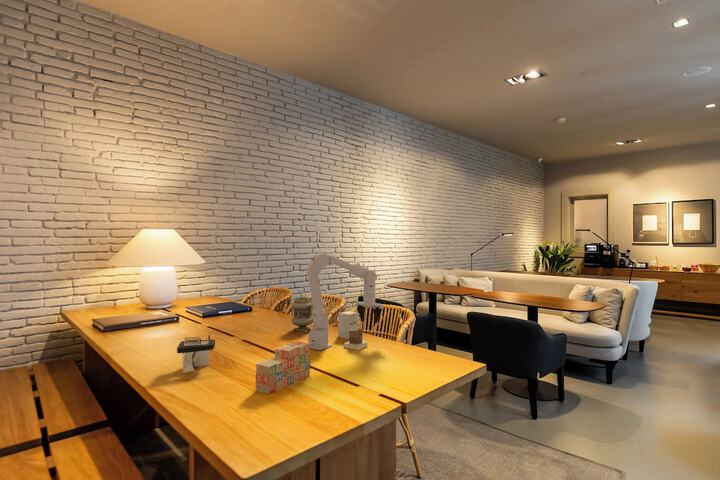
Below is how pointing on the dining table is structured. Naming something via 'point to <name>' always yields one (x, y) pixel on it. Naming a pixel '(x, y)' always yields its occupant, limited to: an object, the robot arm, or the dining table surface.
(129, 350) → the dining table surface
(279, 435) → the dining table surface
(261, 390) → the stack of blocks
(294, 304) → the stone urn vase
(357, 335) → the walnut block
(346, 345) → the base slab
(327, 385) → the dining table surface
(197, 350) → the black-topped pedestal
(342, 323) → the supplement box
